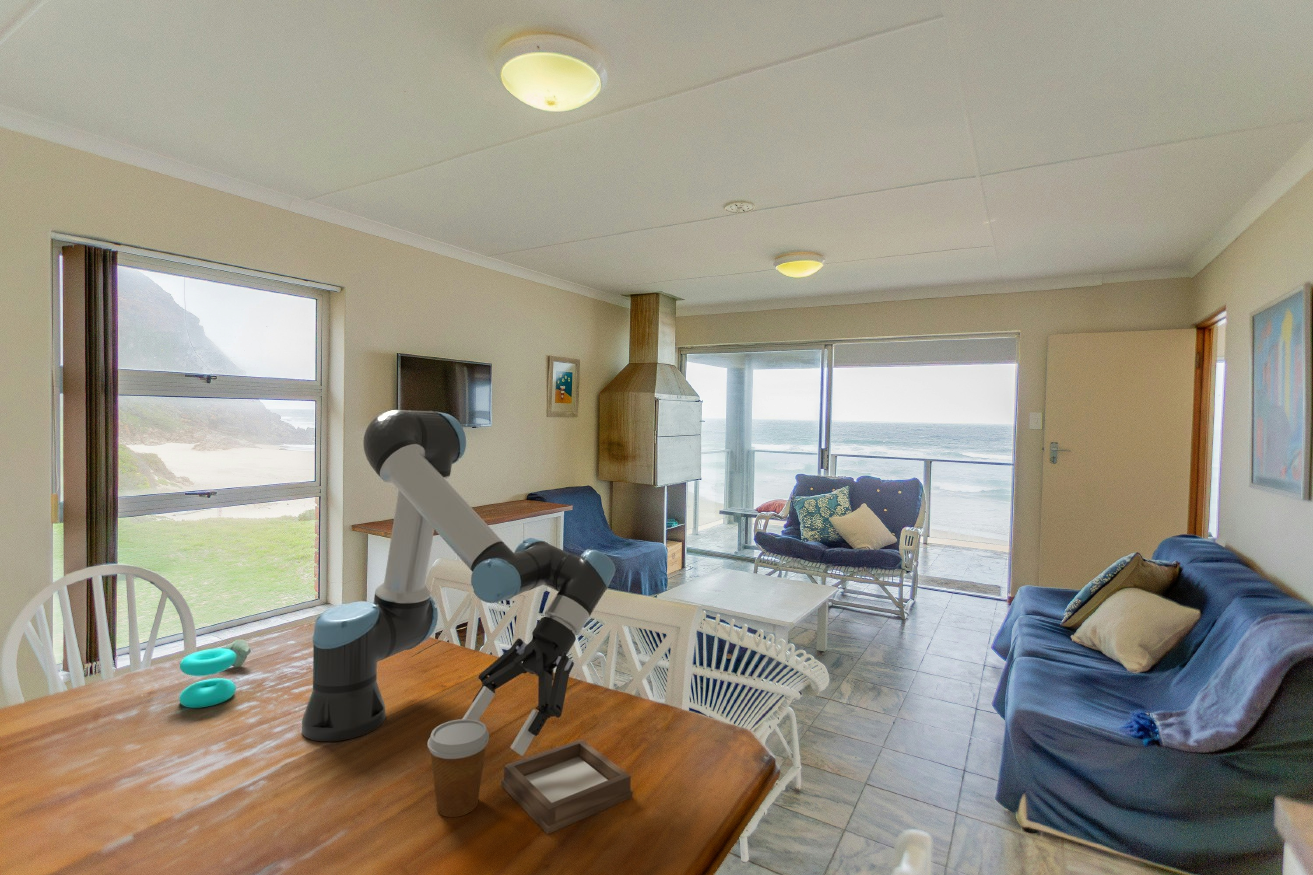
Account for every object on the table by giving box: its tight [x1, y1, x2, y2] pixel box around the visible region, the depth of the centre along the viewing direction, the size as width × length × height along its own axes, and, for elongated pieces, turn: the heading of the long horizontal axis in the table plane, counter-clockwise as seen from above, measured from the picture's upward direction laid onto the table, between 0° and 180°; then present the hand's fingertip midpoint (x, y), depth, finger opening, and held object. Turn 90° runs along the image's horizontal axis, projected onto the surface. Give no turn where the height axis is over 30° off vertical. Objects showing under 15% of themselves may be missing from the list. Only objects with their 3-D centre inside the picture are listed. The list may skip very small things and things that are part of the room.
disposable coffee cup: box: [426, 718, 490, 818], centre depth 100 cm, size 10×10×12 cm
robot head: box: [221, 638, 252, 669], centre depth 154 cm, size 8×4×7 cm, turn 76°
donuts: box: [178, 647, 236, 709], centre depth 136 cm, size 10×10×10 cm
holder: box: [500, 738, 634, 835], centre depth 105 cm, size 16×16×4 cm
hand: (490, 738), depth 103 cm, fingers open, 13 cm apart
